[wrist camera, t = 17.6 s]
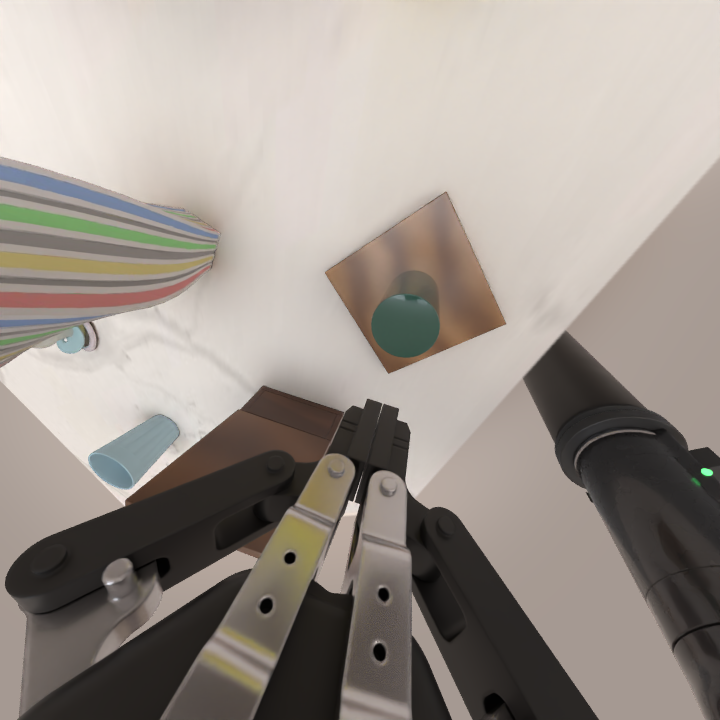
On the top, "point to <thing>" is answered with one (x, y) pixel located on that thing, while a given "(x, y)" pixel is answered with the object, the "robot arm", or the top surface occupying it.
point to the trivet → (429, 255)
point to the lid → (235, 457)
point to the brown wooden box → (295, 413)
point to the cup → (133, 452)
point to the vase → (86, 254)
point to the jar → (408, 315)
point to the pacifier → (72, 340)
